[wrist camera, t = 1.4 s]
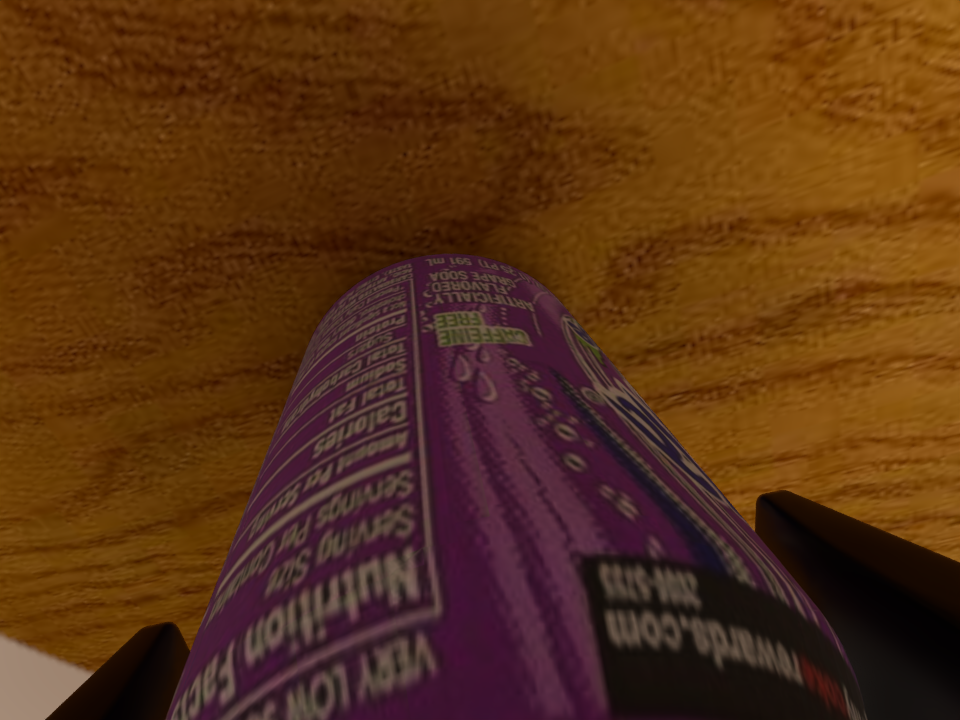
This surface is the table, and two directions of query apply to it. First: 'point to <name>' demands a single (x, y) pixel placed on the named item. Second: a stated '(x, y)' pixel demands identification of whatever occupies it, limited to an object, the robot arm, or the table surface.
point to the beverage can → (493, 536)
